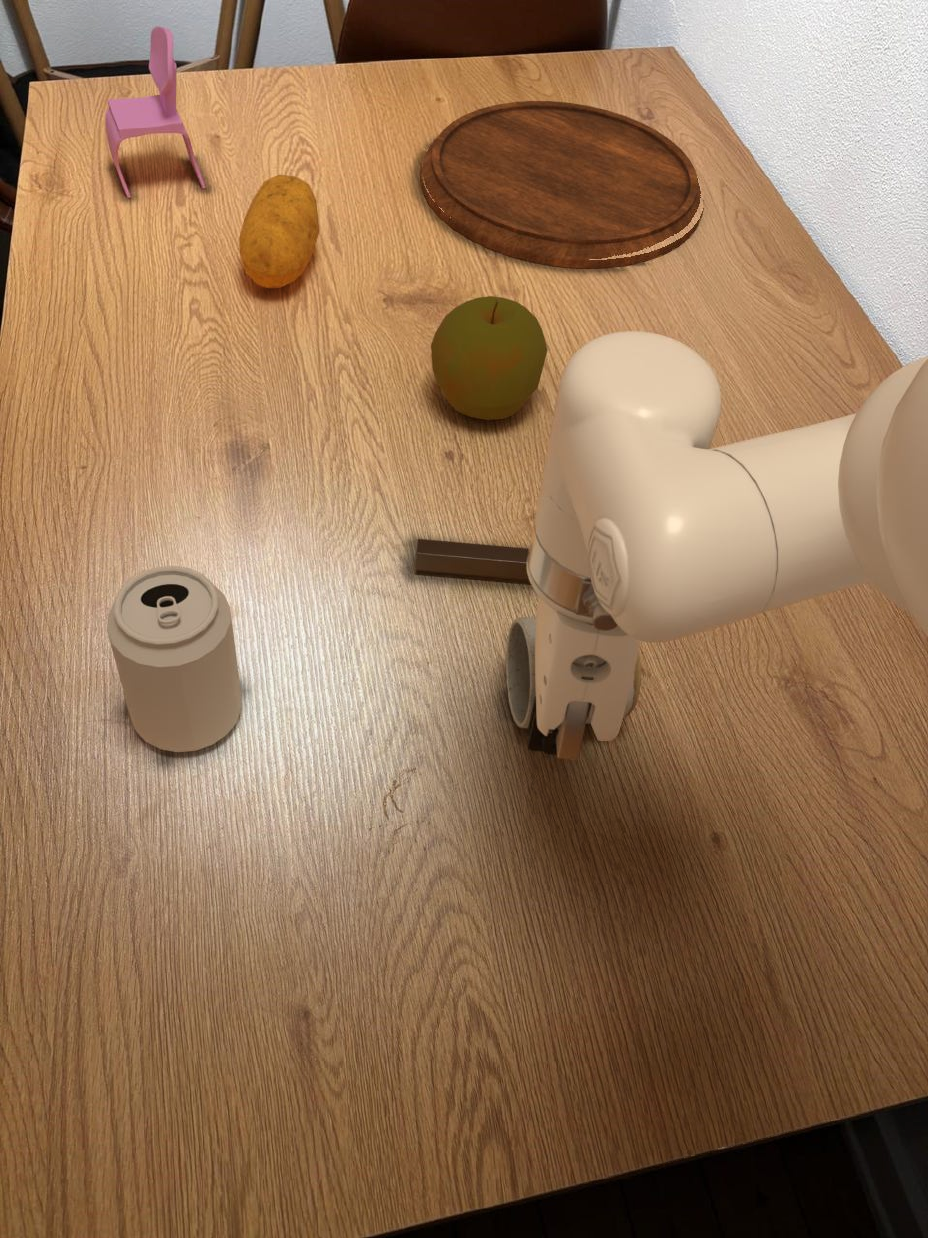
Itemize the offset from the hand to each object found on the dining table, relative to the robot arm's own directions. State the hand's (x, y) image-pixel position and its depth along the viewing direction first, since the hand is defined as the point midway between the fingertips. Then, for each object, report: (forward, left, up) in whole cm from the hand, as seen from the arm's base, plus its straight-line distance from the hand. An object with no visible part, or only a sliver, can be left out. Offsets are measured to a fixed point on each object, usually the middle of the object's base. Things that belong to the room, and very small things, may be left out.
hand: (551, 742), depth 73 cm
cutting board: (+63, -45, -4) cm, 77 cm away
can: (+16, +19, -4) cm, 25 cm away
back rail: (+15, -10, -4) cm, 18 cm away
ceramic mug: (+5, -5, -4) cm, 8 cm away
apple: (+35, -17, -4) cm, 39 cm away
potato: (+62, -10, -4) cm, 63 cm away
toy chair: (+82, -5, -4) cm, 82 cm away
